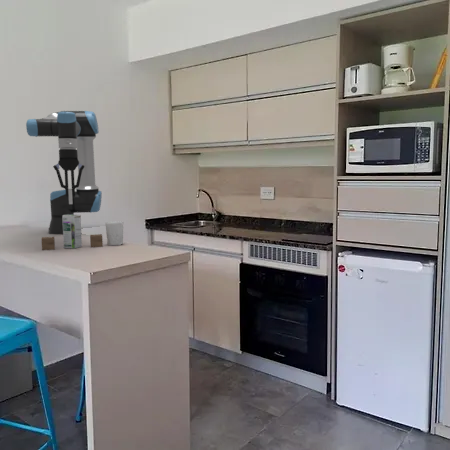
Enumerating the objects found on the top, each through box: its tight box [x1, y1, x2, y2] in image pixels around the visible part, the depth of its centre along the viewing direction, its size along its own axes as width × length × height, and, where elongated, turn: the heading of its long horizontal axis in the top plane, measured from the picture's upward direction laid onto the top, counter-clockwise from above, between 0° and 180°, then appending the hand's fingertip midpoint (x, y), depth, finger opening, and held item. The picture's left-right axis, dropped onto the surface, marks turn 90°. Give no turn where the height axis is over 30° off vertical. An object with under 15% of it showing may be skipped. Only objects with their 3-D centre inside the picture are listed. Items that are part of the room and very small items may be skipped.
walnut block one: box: [89, 233, 104, 248], centre depth 202 cm, size 5×5×5 cm
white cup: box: [105, 221, 124, 246], centre depth 205 cm, size 8×8×10 cm
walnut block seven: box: [41, 236, 56, 251], centre depth 195 cm, size 5×5×5 cm
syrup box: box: [62, 214, 83, 250], centre depth 198 cm, size 6×6×14 cm
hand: (70, 203), depth 196 cm, fingers closed
